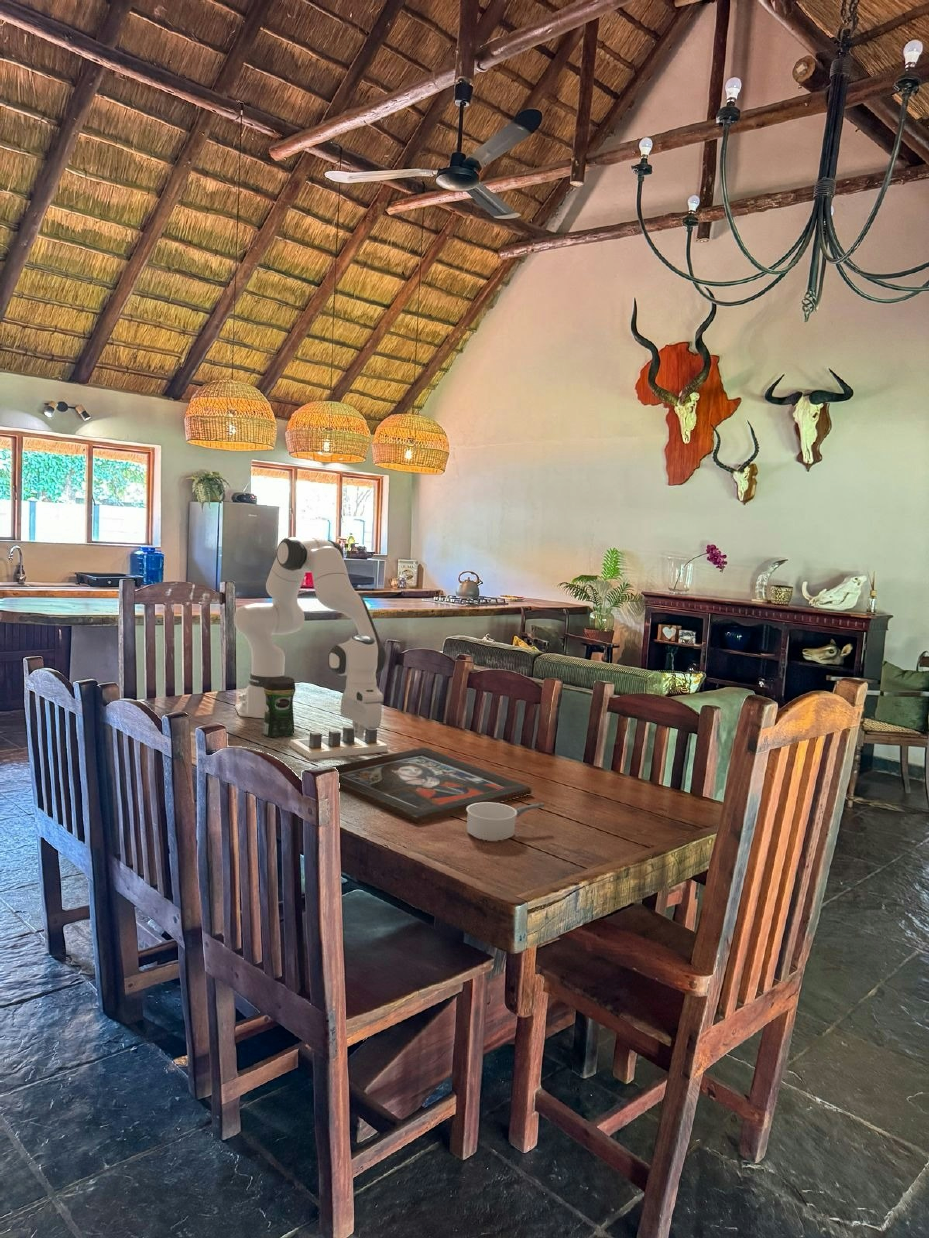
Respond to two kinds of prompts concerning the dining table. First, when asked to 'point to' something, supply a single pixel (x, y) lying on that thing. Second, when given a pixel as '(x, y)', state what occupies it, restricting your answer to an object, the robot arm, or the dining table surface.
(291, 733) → the coffee jar
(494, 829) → the saucepan
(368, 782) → the religious icon
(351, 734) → the block
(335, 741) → the block
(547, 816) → the dining table surface
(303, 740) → the panel
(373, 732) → the block
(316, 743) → the block
